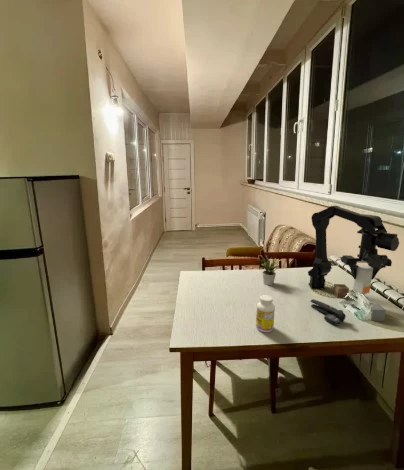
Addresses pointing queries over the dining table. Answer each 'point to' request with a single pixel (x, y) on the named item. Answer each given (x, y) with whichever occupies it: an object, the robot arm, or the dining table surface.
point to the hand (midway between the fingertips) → (363, 279)
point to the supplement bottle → (265, 314)
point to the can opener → (329, 312)
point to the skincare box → (363, 279)
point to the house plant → (268, 271)
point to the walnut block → (340, 290)
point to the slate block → (377, 312)
